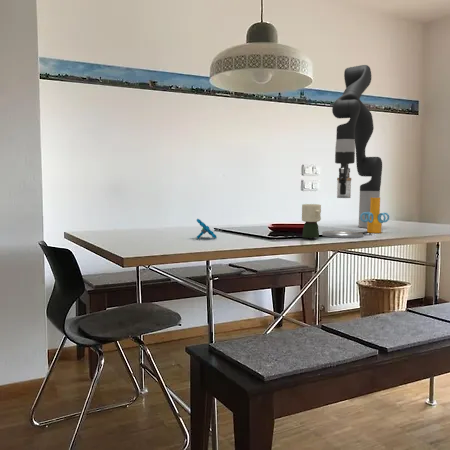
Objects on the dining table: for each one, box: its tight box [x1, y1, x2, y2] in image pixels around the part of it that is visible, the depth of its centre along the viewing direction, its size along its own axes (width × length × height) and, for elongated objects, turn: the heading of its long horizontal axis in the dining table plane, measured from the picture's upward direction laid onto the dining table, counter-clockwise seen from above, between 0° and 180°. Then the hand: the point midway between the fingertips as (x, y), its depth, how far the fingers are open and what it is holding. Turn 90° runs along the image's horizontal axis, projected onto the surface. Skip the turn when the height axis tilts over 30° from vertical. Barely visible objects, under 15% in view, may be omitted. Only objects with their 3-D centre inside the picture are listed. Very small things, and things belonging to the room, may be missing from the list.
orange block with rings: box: [360, 197, 390, 234], centre depth 212 cm, size 12×10×15 cm
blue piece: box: [196, 218, 217, 239], centre depth 186 cm, size 11×6×10 cm
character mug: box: [301, 203, 322, 240], centre depth 187 cm, size 11×7×13 cm, turn 25°
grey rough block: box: [336, 177, 352, 199], centre depth 197 cm, size 6×6×8 cm
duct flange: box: [321, 230, 364, 239], centre depth 198 cm, size 16×16×2 cm
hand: (343, 194), depth 197 cm, fingers closed on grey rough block, 5 cm apart
